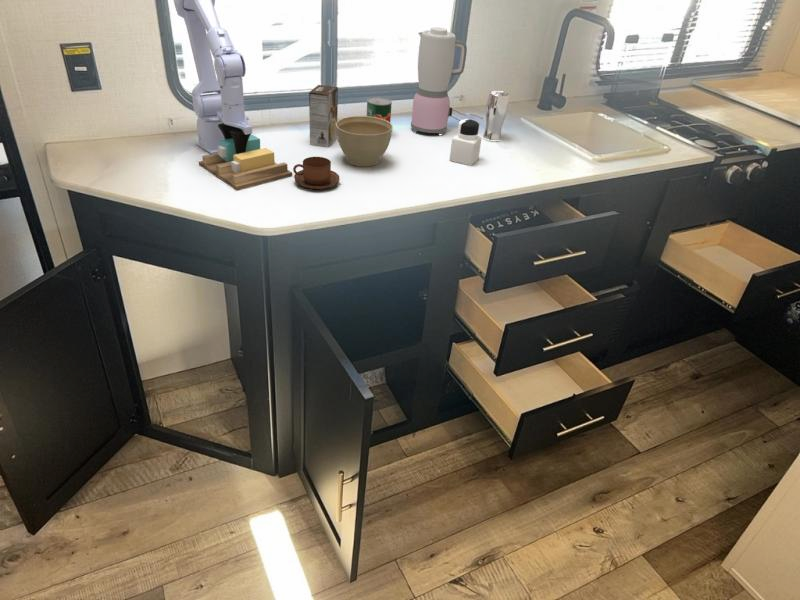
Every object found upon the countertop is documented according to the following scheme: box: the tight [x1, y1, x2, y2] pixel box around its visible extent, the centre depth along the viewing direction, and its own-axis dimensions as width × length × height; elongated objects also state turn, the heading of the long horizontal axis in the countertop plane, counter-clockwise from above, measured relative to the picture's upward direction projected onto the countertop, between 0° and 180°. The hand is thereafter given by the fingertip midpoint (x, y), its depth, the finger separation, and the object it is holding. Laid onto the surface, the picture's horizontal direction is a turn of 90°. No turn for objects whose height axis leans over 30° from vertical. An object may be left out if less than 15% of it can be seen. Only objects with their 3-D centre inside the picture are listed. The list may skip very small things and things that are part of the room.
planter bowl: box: [336, 115, 393, 167], centre depth 174 cm, size 16×16×11 cm
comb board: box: [198, 153, 293, 191], centre depth 164 cm, size 20×17×3 cm
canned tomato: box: [366, 96, 393, 123], centre depth 194 cm, size 8×8×11 cm
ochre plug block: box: [231, 147, 276, 174], centre depth 161 cm, size 4×11×5 cm, turn 133°
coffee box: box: [308, 84, 339, 148], centre depth 184 cm, size 9×6×16 cm
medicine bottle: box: [449, 118, 483, 166], centre depth 181 cm, size 7×7×12 cm
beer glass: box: [482, 89, 510, 141], centre depth 198 cm, size 7×7×15 cm
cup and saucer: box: [292, 156, 340, 190], centre depth 160 cm, size 12×12×6 cm
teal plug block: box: [218, 134, 261, 162], centre depth 165 cm, size 4×11×5 cm, turn 133°
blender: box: [410, 27, 468, 135], centre depth 195 cm, size 16×12×32 cm
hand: (236, 152), depth 165 cm, fingers closed on teal plug block, 4 cm apart
